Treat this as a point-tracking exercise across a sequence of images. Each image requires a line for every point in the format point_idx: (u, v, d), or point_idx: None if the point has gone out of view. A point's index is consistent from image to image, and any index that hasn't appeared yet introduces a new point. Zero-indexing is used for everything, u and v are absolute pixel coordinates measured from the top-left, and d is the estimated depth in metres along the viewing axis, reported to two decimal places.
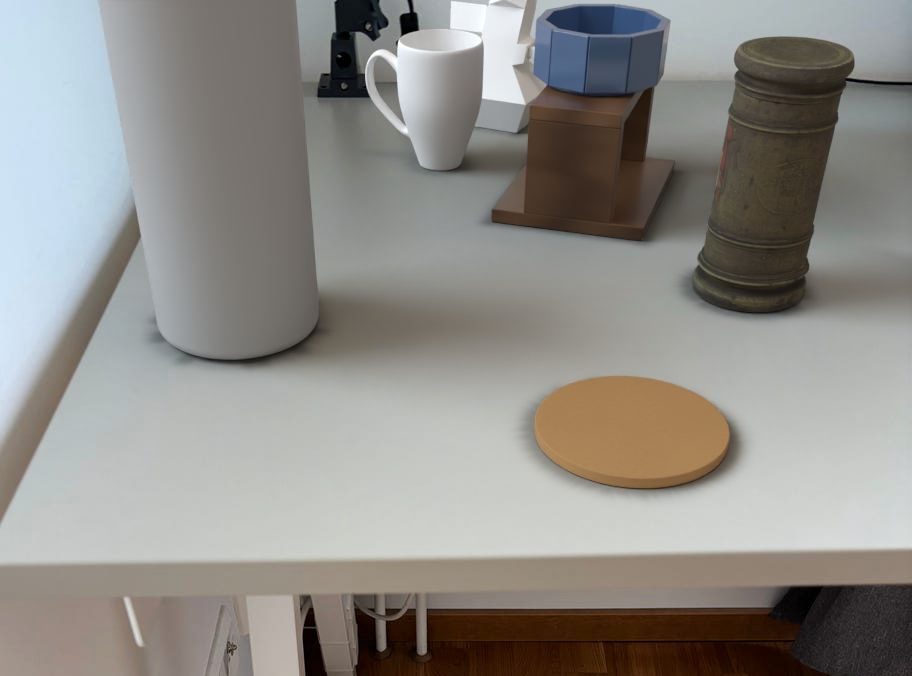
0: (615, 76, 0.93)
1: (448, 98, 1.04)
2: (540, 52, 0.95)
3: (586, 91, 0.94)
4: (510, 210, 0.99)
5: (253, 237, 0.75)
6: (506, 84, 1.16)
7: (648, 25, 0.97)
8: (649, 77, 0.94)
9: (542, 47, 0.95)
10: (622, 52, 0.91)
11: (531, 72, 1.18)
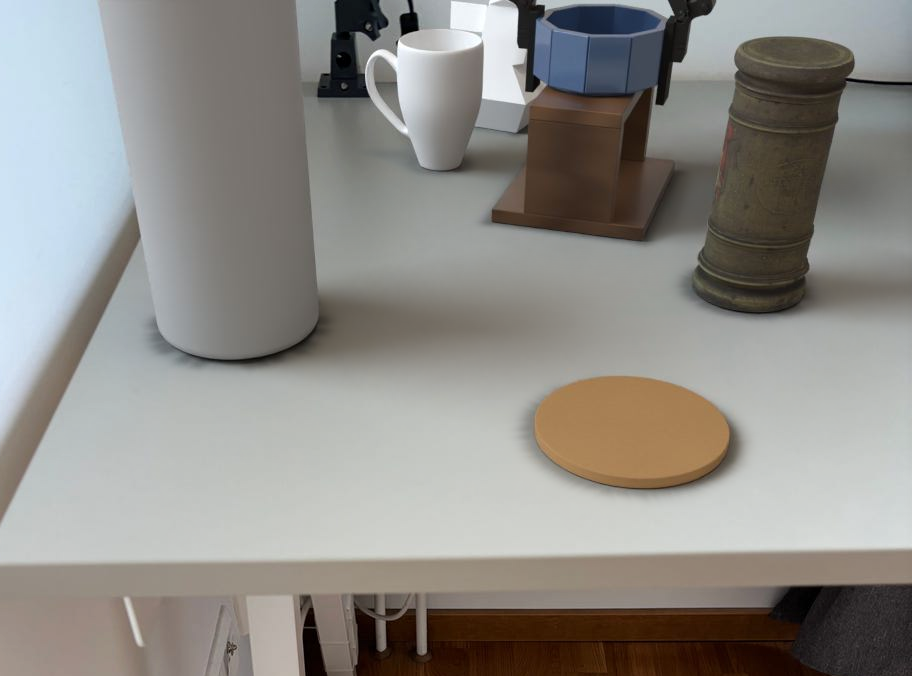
0: (615, 76, 0.93)
1: (448, 98, 1.04)
2: (540, 52, 0.95)
3: (586, 91, 0.94)
4: (510, 210, 0.99)
5: (253, 237, 0.75)
6: (506, 84, 1.16)
7: (648, 25, 0.97)
8: (649, 77, 0.94)
9: (542, 47, 0.95)
10: (622, 52, 0.91)
11: None
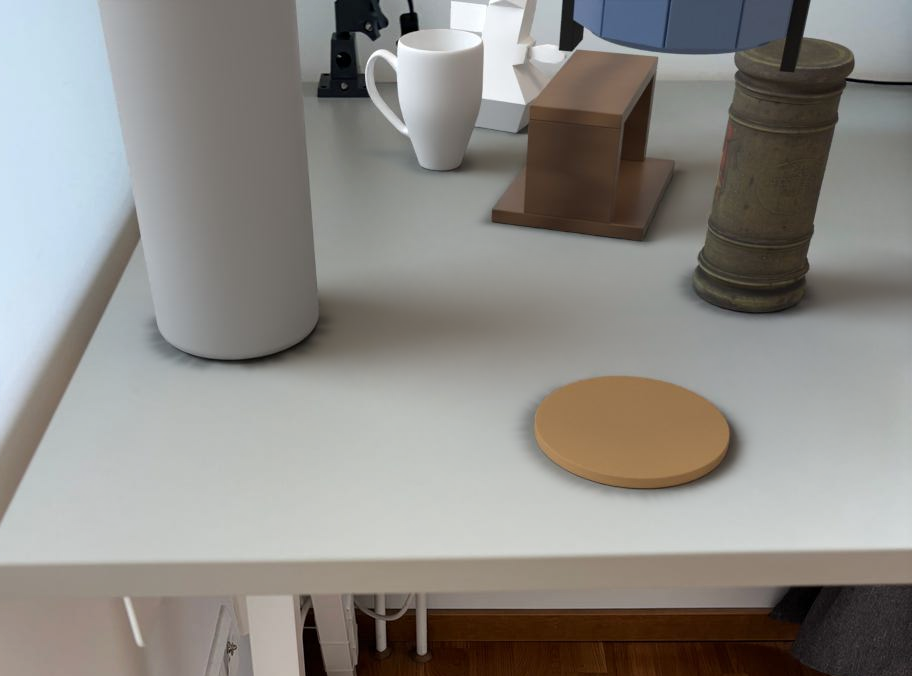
0: (719, 19, 0.53)
1: (448, 98, 1.04)
2: None
3: (667, 45, 0.54)
4: (510, 210, 0.99)
5: (253, 237, 0.75)
6: (506, 84, 1.16)
7: None
8: (775, 22, 0.55)
9: None
10: None
11: (531, 72, 1.18)
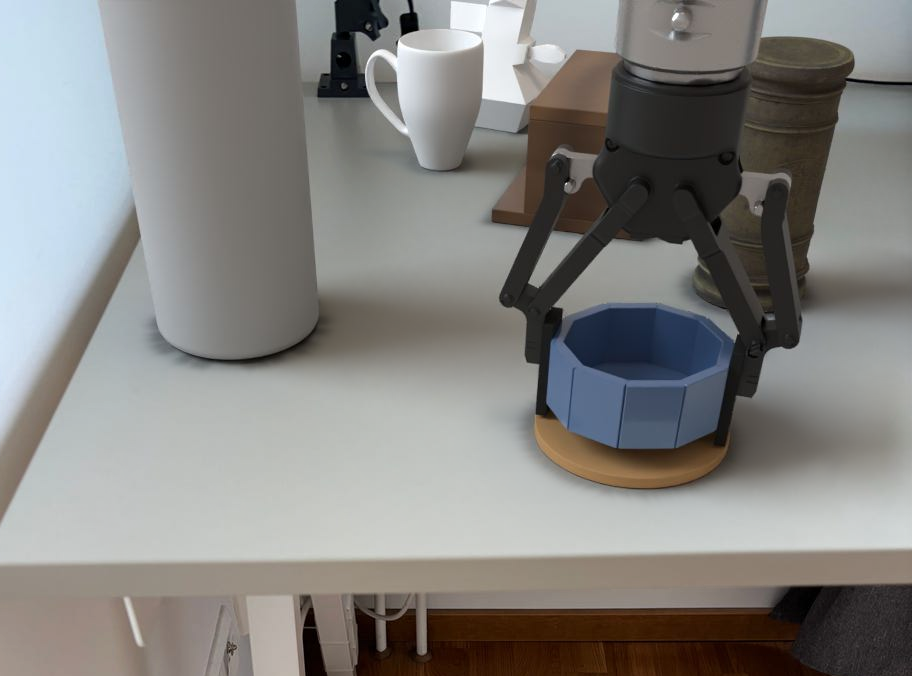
0: (661, 430, 0.67)
1: (448, 98, 1.04)
2: (556, 384, 0.70)
3: (620, 446, 0.68)
4: (510, 210, 0.99)
5: (253, 237, 0.75)
6: (506, 84, 1.16)
7: (703, 339, 0.71)
8: (707, 424, 0.68)
9: (560, 381, 0.69)
10: (671, 403, 0.66)
11: (531, 72, 1.18)
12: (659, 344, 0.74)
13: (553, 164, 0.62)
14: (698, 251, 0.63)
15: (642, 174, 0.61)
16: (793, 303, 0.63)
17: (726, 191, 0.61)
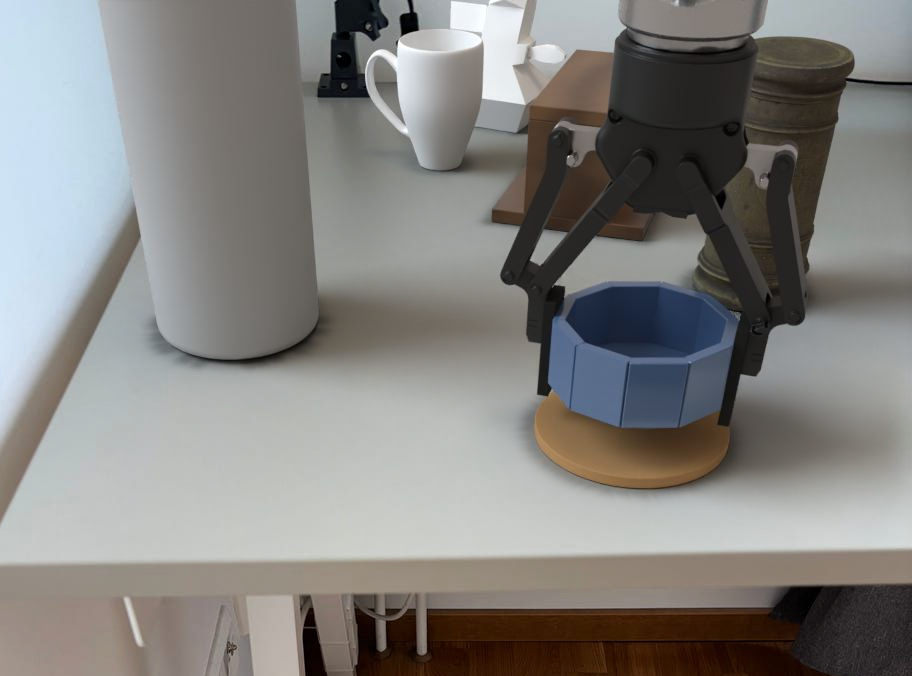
0: (664, 408, 0.66)
1: (448, 98, 1.04)
2: (558, 363, 0.69)
3: (623, 425, 0.67)
4: (510, 210, 0.99)
5: (253, 237, 0.75)
6: (506, 84, 1.16)
7: (707, 318, 0.70)
8: (711, 403, 0.67)
9: (561, 360, 0.68)
10: (675, 381, 0.65)
11: (531, 72, 1.18)
12: (662, 324, 0.73)
13: (555, 136, 0.61)
14: (702, 225, 0.62)
15: (646, 146, 0.60)
16: (799, 278, 0.62)
17: (731, 163, 0.60)
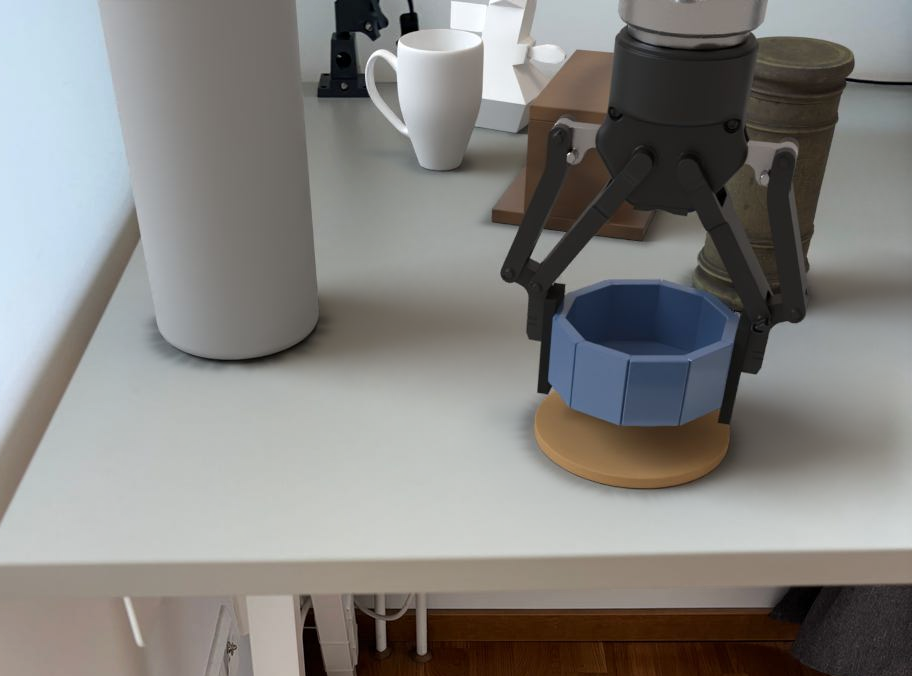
0: (665, 406, 0.66)
1: (448, 98, 1.04)
2: (558, 361, 0.68)
3: (623, 423, 0.67)
4: (510, 210, 0.99)
5: (253, 237, 0.75)
6: (506, 84, 1.16)
7: (707, 316, 0.70)
8: (711, 401, 0.67)
9: (562, 358, 0.68)
10: (675, 379, 0.65)
11: (531, 72, 1.18)
12: (663, 322, 0.73)
13: (555, 134, 0.61)
14: (703, 222, 0.61)
15: (646, 143, 0.60)
16: (799, 276, 0.62)
17: (732, 160, 0.59)
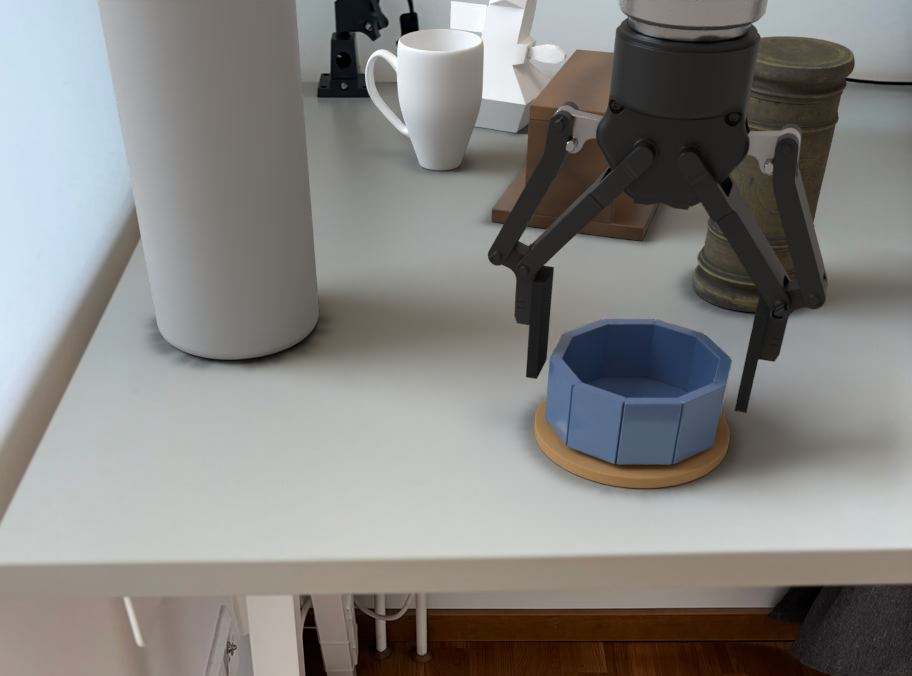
0: (658, 446, 0.68)
1: (448, 98, 1.04)
2: (555, 400, 0.70)
3: (618, 462, 0.69)
4: (510, 210, 0.99)
5: (253, 237, 0.75)
6: (506, 84, 1.16)
7: (700, 356, 0.72)
8: (704, 440, 0.69)
9: (558, 397, 0.70)
10: (669, 420, 0.67)
11: (531, 72, 1.18)
12: (657, 360, 0.75)
13: (557, 121, 0.61)
14: (710, 214, 0.61)
15: (647, 136, 0.60)
16: (815, 261, 0.61)
17: (733, 153, 0.59)
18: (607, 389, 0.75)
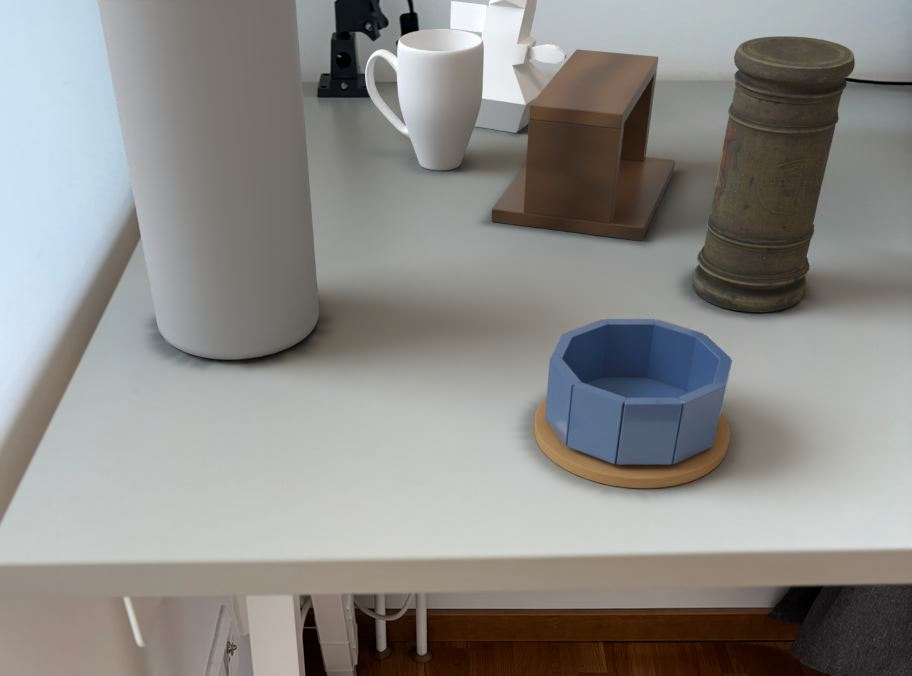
0: (658, 446, 0.68)
1: (448, 98, 1.04)
2: (555, 400, 0.70)
3: (618, 462, 0.69)
4: (510, 210, 0.99)
5: (253, 237, 0.75)
6: (506, 84, 1.16)
7: (700, 356, 0.72)
8: (704, 440, 0.69)
9: (558, 397, 0.70)
10: (669, 420, 0.67)
11: (531, 72, 1.18)
12: (657, 360, 0.75)
13: None
14: None
15: None
16: None
17: None
18: (607, 389, 0.75)
